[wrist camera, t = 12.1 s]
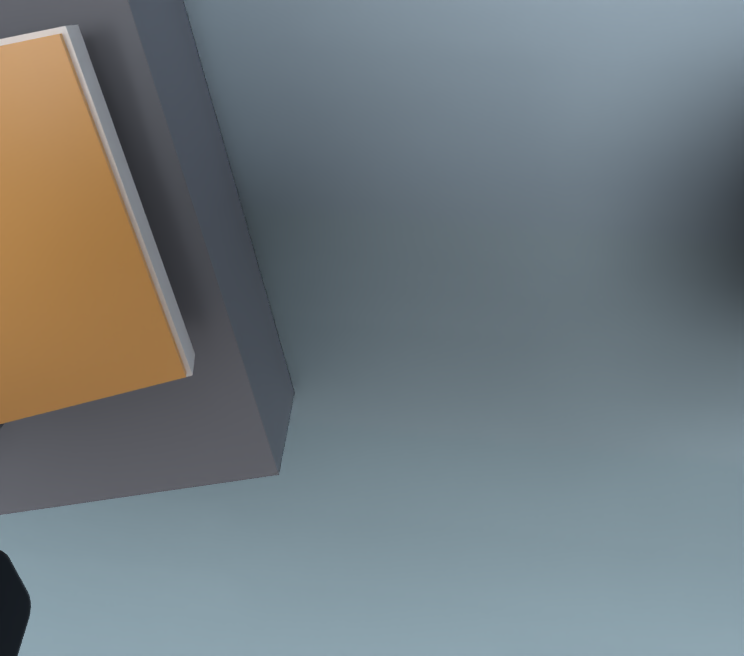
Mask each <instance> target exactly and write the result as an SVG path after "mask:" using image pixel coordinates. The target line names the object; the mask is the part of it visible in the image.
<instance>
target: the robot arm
mask: <svg viewBox="0 0 744 656" xmlns="http://www.w3.org/2000/svg"><path fill="white" fill-rule="evenodd" d="M30 609H31V602H30V597H29V594H28V591H27V590H26V588H25V586H24V584H23V582H22V580H21V579H20V577H19V575H18V573H17V571H16V569H15V568H14V566H13V564H12V562H11V560H10V558H9V557H8V555H7V554H5V553H4V552H3V551H1V550H0V656H18V653H19V649H20V646H21V643H22V639H23V636H24V633H25V630H26V626H27V623H28V620H29V616H30Z"/></svg>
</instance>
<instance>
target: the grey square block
mask: <svg viewBox="0 0 744 656" xmlns="http://www.w3.org/2000/svg"><path fill="white" fill-rule="evenodd" d="M68 25H78V26H79V29H80V32H81V34H82V37H83V40H84V43H85V46H86V49H87V51H88V54H89V57H90V60H91V63H92V65H93V68H94V71H95V74H96V77H97V79H98V82H99V85H100V88H101V91H102V94H103V96H104V99H105V102H106V105H107V108H108V110H109V113H110V116H111V119H112V122H113V124H114V127H115V130H116V133H117V136H118V139H119V141H120V144H121V147H122V150H123V153H124V155H125V158H126V161H127V164H128V167H129V170H130V172H131V175H132V178H133V181H134V184H135V186H136V189H137V192H138V195H139V198H140V200H141V203H142V206H143V209H144V212H145V215H146V217H147V220H148V223H149V226H150V229H151V231H152V234H153V237H154V240H155V243H156V245H157V248H158V251H159V254H160V257H161V260H162V262H163V265H164V268H165V271H166V274H167V276H168V279H169V282H170V285H171V288H172V291H173V293H174V296H175V299H176V302H177V305H178V307H179V310H180V313H181V316H182V319H183V321H184V324H185V327H186V330H187V333H188V336H189V338H190V341H191V344H192V347H193V350H194V352H195V359H194V368H193V375H192V376H188V377H185V378H181V379H177V380H173V381H169V382H165V383H161V384H157V385H153V386H149V387H145V388H141V389H138V390H134V391H130V392H126V393H122V394H118V395H114V396H110V397H106V398H102V399H98V400H94V401H90V402H86V403H82V404H78V405H74V406H70V407H66V408H62V409H58V410H54V411H50V412H46V413H42V414H38V415H35V416H31V417H27V418H23V419H19V420H15V421H11V422H7V423H3V424H0V515H2V514H9V513H16V512H23V511H30V510H36V509H43V508H50V507H57V506H64V505H71V504H78V503H85V502H92V501H99V500H106V499H113V498H120V497H127V496H134V495H141V494H148V493H154V492H161V491H168V490H175V489H182V488H189V487H196V486H203V485H210V484H217V483H224V482H231V481H238V480H245V479H252V478H259V477H266V476H272V475H279V471H280V466H281V461H282V456H283V451H284V445H285V440H286V435H287V430H288V425H289V419H290V414H291V409H292V404H293V398H294V390H293V386H292V383H291V379H290V376H289V372H288V369H287V365H286V362H285V358H284V354H283V351H282V347H281V344H280V340H279V337H278V333H277V330H276V326H275V323H274V319H273V316H272V312H271V309H270V305H269V302H268V298H267V295H266V291H265V288H264V284H263V280H262V277H261V273H260V270H259V266H258V263H257V259H256V256H255V252H254V249H253V245H252V242H251V238H250V235H249V231H248V228H247V224H246V221H245V217H244V214H243V210H242V207H241V203H240V199H239V196H238V192H237V189H236V185H235V182H234V178H233V175H232V171H231V168H230V164H229V161H228V157H227V154H226V150H225V147H224V143H223V140H222V136H221V133H220V129H219V125H218V122H217V118H216V115H215V111H214V108H213V104H212V101H211V97H210V94H209V90H208V87H207V83H206V80H205V76H204V73H203V69H202V66H201V62H200V59H199V55H198V51H197V48H196V44H195V41H194V37H193V34H192V30H191V27H190V23H189V20H188V16H187V13H186V9H185V6H184V2H183V0H0V39H3V38H8V37H13V36H18V35H23V34H28V33H33V32H37V31H42V30H47V29H52V28H57V27H62V26H68Z"/></svg>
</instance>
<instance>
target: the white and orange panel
mask: <svg viewBox="0 0 744 656" xmlns="http://www.w3.org/2000/svg"><path fill="white" fill-rule="evenodd" d="M194 359H195V352H194V350H193V347H192V344H191V341H190V338H189V336H188V333H187V330H186V327H185V324H184V321H183V319H182V316H181V313H180V310H179V307H178V305H177V302H176V299H175V296H174V293H173V291H172V288H171V285H170V282H169V279H168V276H167V274H166V271H165V268H164V265H163V262H162V260H161V257H160V254H159V251H158V248H157V245H156V243H155V240H154V237H153V234H152V231H151V229H150V226H149V223H148V220H147V217H146V215H145V212H144V209H143V206H142V203H141V200H140V198H139V195H138V192H137V189H136V186H135V184H134V181H133V178H132V175H131V172H130V170H129V167H128V164H127V161H126V158H125V155H124V153H123V150H122V147H121V144H120V141H119V139H118V136H117V133H116V130H115V127H114V124H113V122H112V119H111V116H110V113H109V110H108V108H107V105H106V102H105V99H104V96H103V94H102V91H101V88H100V85H99V82H98V79H97V77H96V74H95V71H94V68H93V65H92V63H91V60H90V57H89V54H88V51H87V49H86V46H85V43H84V40H83V37H82V34H81V32H80V29H79V26H78V25H68V26H62V27H57V28H52V29H47V30H42V31H37V32H33V33H28V34H23V35H18V36H13V37H8V38H3V39H0V424H3V423H7V422H11V421H15V420H19V419H23V418H27V417H31V416H35V415H38V414H42V413H46V412H50V411H54V410H58V409H62V408H66V407H70V406H74V405H78V404H82V403H86V402H90V401H94V400H98V399H102V398H106V397H110V396H114V395H118V394H122V393H126V392H130V391H134V390H138V389H141V388H145V387H149V386H153V385H157V384H161V383H165V382H169V381H173V380H177V379H181V378H185V377H188V376H192V375H193V368H194Z"/></svg>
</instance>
